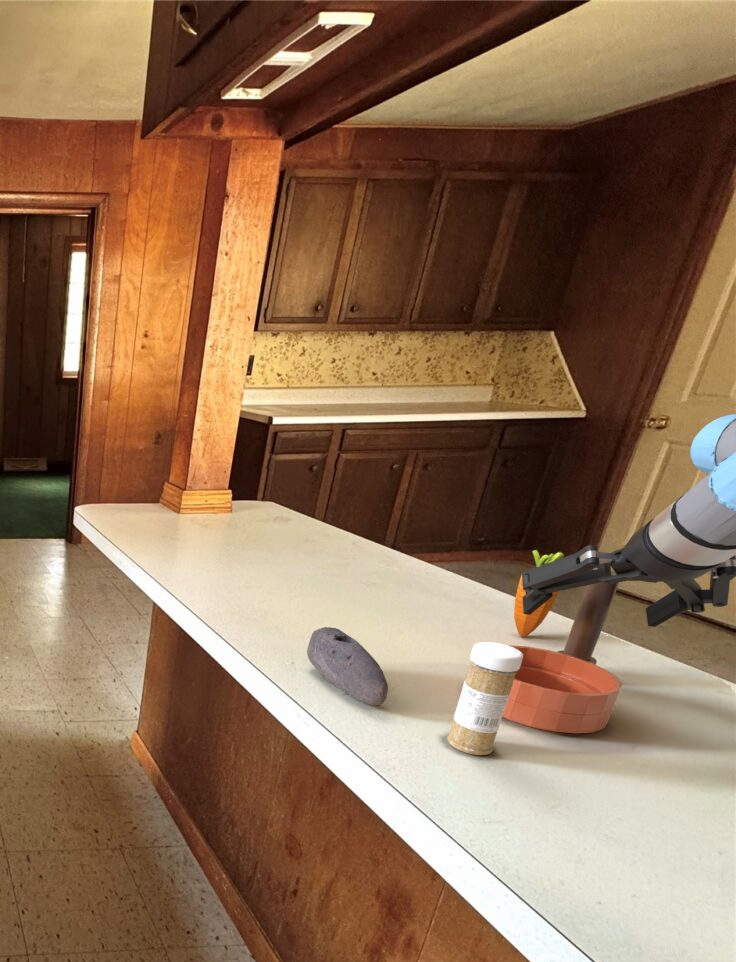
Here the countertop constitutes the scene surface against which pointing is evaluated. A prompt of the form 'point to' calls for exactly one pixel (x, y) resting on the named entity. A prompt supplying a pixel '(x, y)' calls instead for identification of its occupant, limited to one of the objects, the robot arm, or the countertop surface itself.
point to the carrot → (533, 620)
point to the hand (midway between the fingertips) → (586, 611)
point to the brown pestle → (590, 620)
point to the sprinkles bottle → (484, 697)
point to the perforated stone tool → (347, 665)
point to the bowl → (561, 693)
